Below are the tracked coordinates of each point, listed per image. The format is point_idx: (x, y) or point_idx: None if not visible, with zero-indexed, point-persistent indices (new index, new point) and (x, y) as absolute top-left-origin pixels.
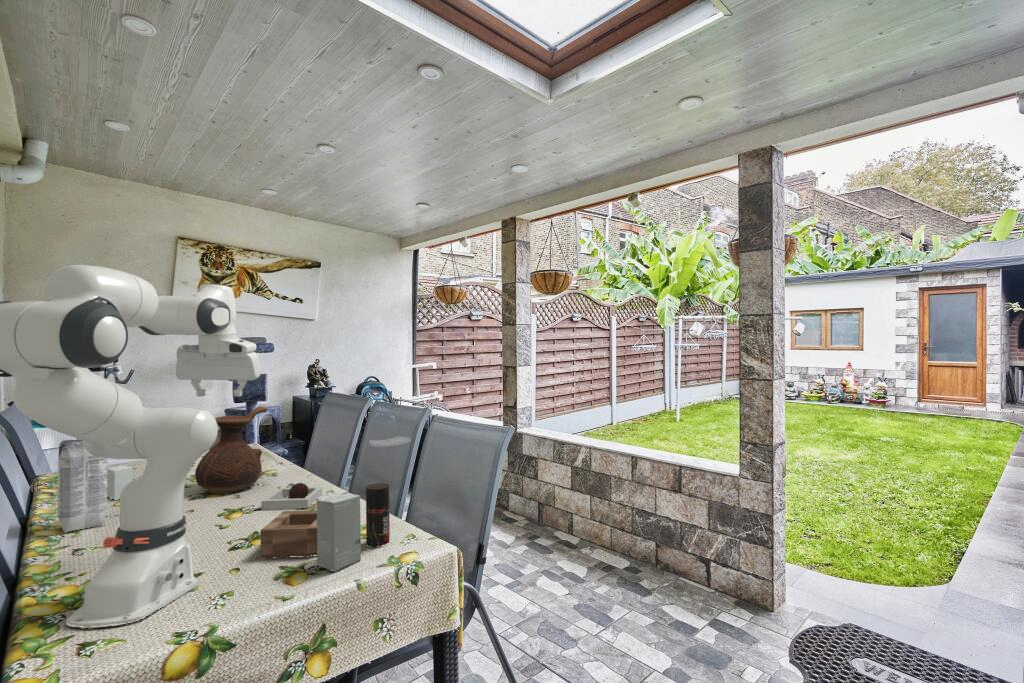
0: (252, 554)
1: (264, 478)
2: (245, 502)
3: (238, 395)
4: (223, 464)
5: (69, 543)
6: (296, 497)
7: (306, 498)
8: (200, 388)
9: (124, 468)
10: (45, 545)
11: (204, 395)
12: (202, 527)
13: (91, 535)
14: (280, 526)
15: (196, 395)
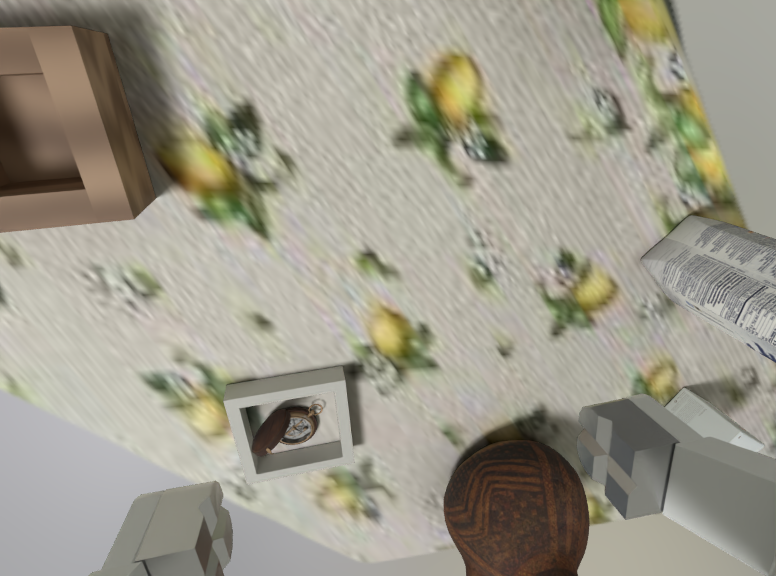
0: (159, 71)
1: None
2: (413, 406)
3: (142, 497)
4: (518, 495)
5: (653, 161)
6: (273, 417)
7: (232, 407)
8: (679, 496)
9: None
10: (693, 151)
11: (578, 442)
12: (420, 257)
13: (633, 206)
14: (21, 62)
15: (646, 395)
